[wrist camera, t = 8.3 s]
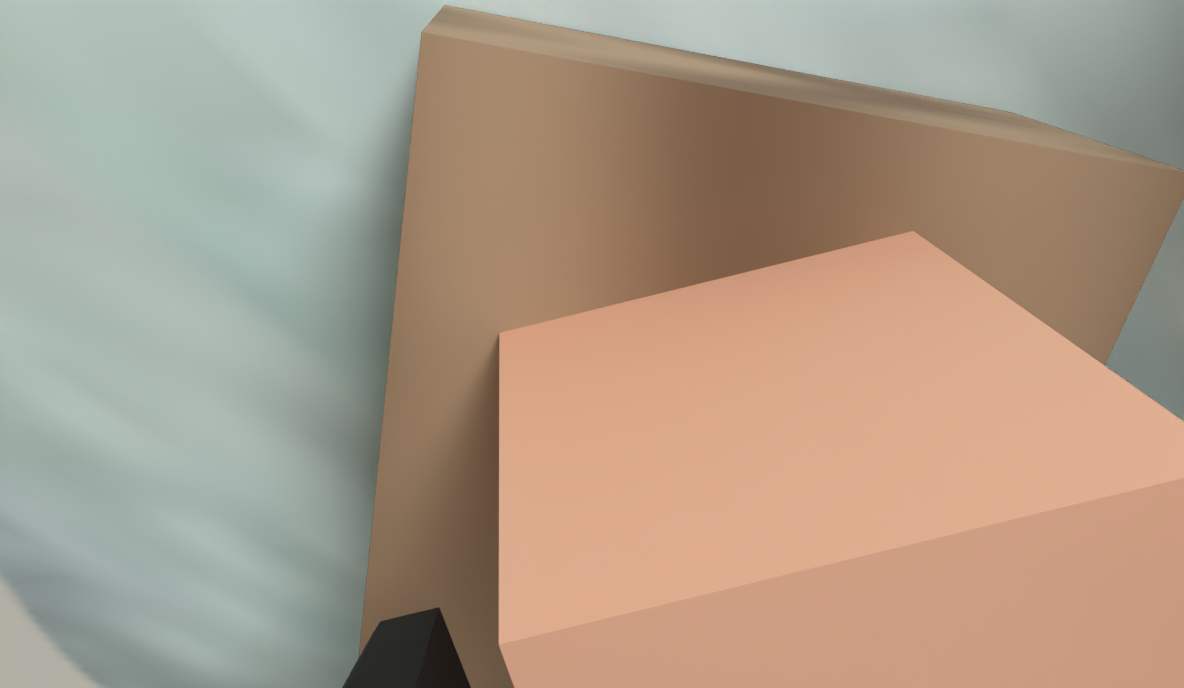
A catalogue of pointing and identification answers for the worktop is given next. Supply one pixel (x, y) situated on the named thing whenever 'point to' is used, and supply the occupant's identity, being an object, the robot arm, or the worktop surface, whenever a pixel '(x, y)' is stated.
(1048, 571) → the terracotta cube
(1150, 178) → the walnut block
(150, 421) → the worktop surface
